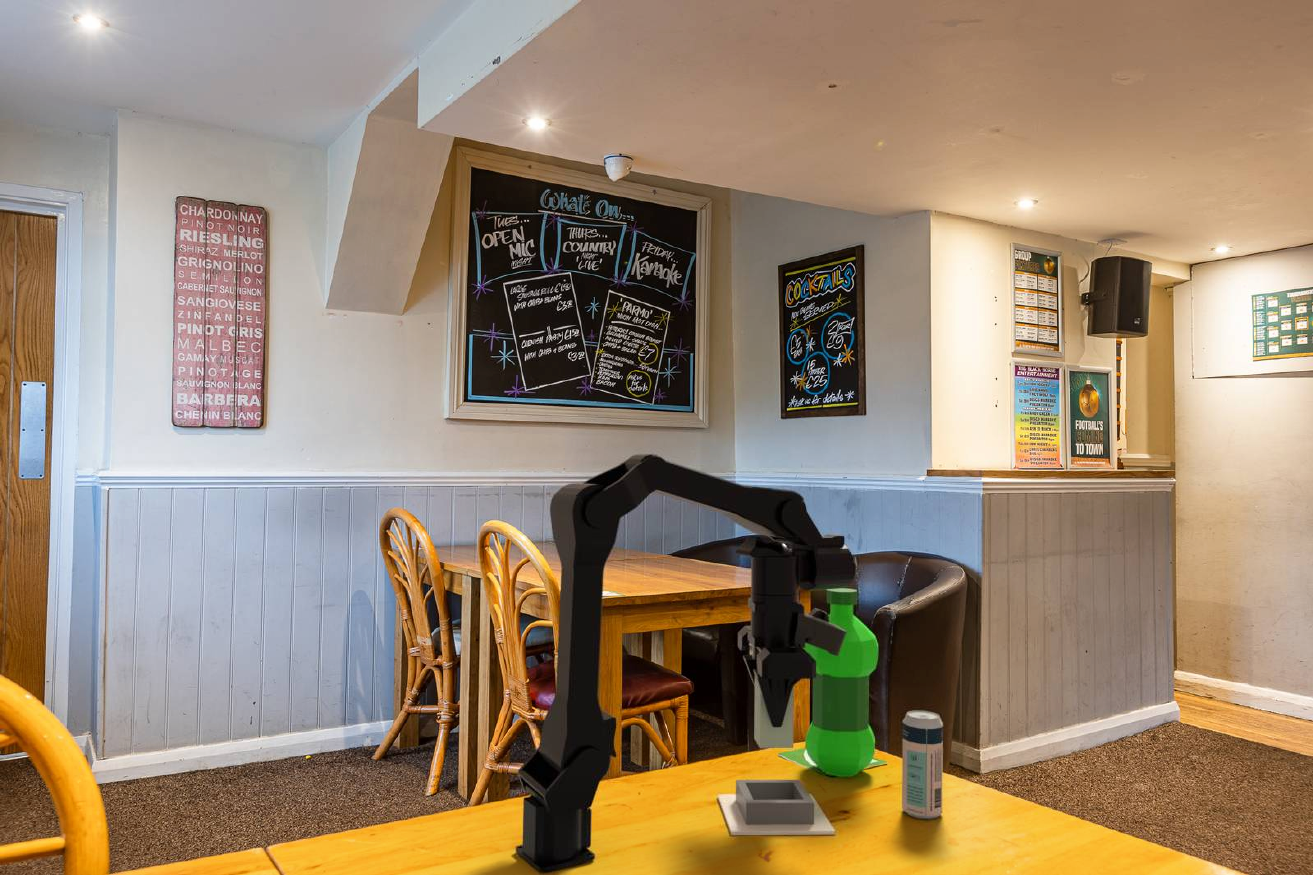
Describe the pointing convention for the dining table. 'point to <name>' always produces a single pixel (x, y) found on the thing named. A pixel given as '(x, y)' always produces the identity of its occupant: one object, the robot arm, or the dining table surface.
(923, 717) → the beer can
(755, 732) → the sage block
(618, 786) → the dining table surface
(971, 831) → the dining table surface
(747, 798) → the socket
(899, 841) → the dining table surface
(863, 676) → the plastic bottle
